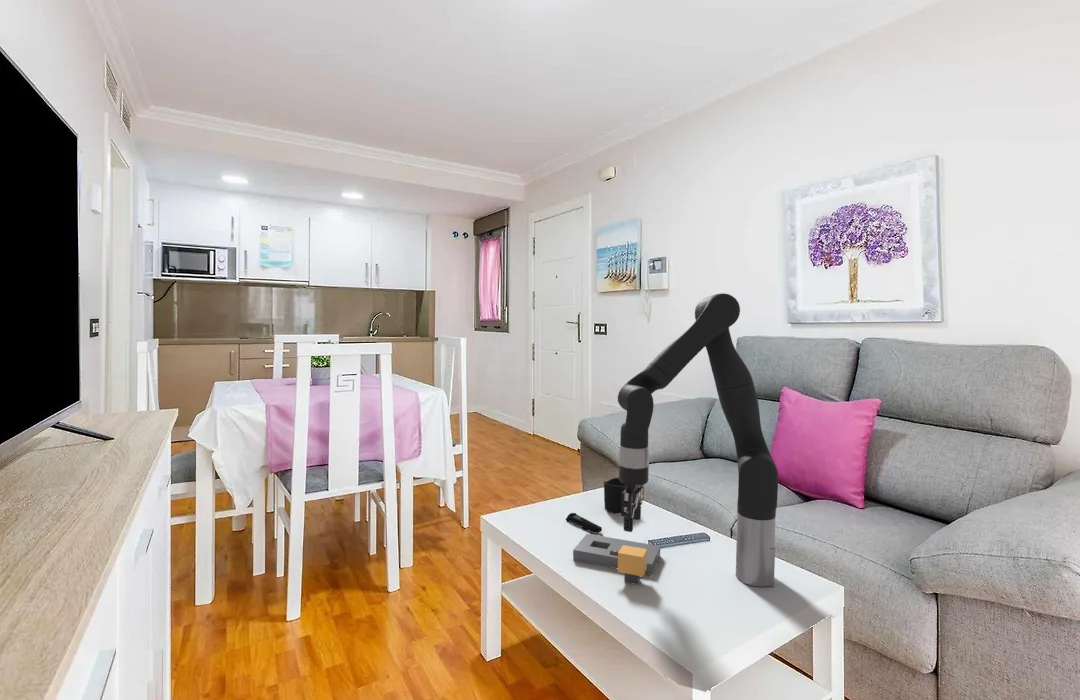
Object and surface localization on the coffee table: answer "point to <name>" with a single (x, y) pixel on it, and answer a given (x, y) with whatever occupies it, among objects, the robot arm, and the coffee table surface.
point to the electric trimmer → (583, 523)
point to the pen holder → (613, 495)
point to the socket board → (599, 550)
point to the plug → (631, 562)
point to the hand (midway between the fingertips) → (632, 525)
